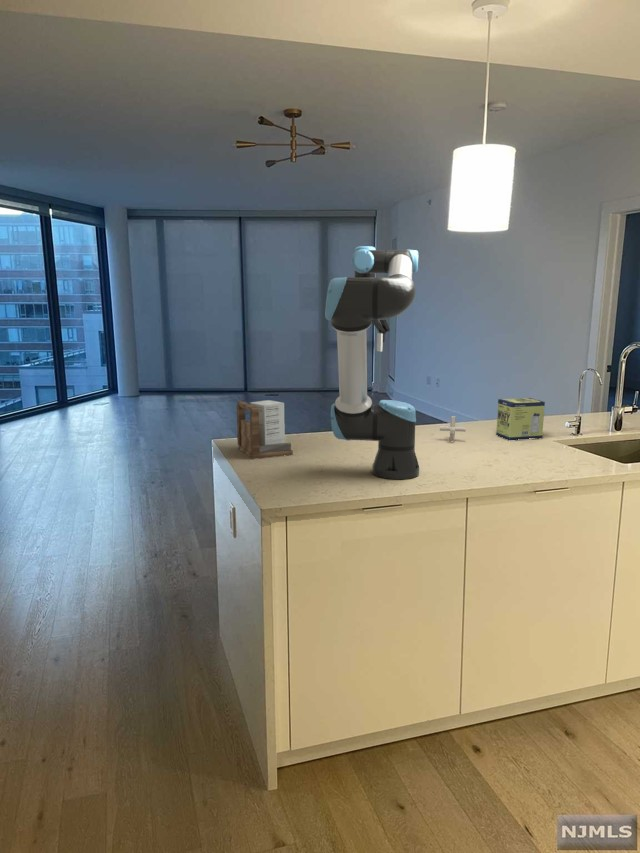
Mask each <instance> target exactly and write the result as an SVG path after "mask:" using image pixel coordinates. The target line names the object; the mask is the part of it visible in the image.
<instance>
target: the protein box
mask: <svg viewBox="0 0 640 853" xmlns="http://www.w3.org/2000/svg"><path fill="white" fill-rule="evenodd" d="M545 403H546V402H545V401H544V400H540V399H536V398H531V397H523V398H519V397H518V398H517V397H516V398H498V400H497V416H496V430H495V431H496V432H495V436H496V435H498V436H497V437H499V436H500V437H499V438H501V437H503V438H502V439H504V438H505V439H504V440H506V439H508V440H507V441H509V440H515V441H519V440H518V439H529V438H542V439H543V432H544V430H543V428H544V419H545V418H544V416H545V405H546V404H545Z"/></svg>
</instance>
